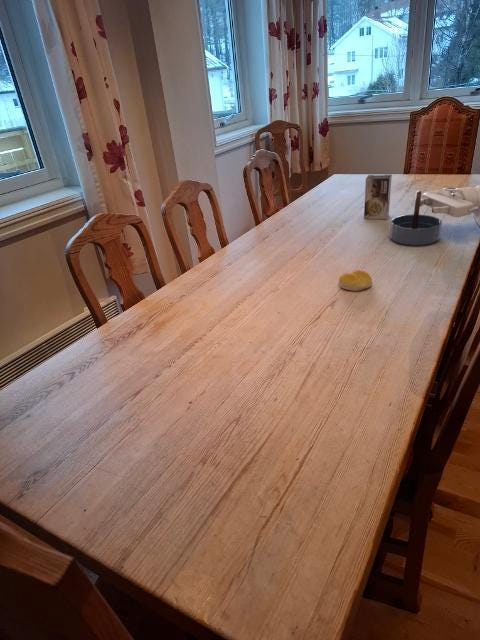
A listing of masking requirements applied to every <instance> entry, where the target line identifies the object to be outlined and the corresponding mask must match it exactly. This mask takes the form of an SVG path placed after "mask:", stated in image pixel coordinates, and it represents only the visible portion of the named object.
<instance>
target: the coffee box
mask: <svg viewBox="0 0 480 640" xmlns="http://www.w3.org/2000/svg"><path fill="white" fill-rule="evenodd" d="M392 175H393V174H389V173H388V174H386V173H385V174H368V175H367V176H366V177H365V185H364V187H365V189H364V206H363V207H364V209H363V219H364V220H388V218H389V215H390V201H391V191H392V177H393V176H392Z"/></svg>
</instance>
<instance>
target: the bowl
mask: <svg viewBox="0 0 480 640" xmlns="http://www.w3.org/2000/svg"><path fill="white" fill-rule="evenodd" d="M413 217H414V213H413V214H403V215H398V216H395V217H393V218H392V219H390V226H389V238H390V239H391V240H392V241H393V242H395V243H397V244H400V245H404V246H409V247H410V246H413V247H421V246H429V245H432V244H434V243H436V242H438V240H439V239H440V237H441V231H442V224H443V223H442V220H441V219H440V218H438V217H436V216H432V215H426V214H419V217H418V226H417V227H420V228H423V229H410V228H408V227H412V226H413Z"/></svg>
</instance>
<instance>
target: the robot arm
mask: <svg viewBox="0 0 480 640" xmlns="http://www.w3.org/2000/svg"><path fill="white" fill-rule="evenodd" d="M423 206H426V207H429V208H431V213H432V214H434V215H435V214H436V215H437V214H443V215H444V214H445V215H447V216H451V217H453V218H461V217H466V216H470V215H473V219H474V221H475V223H476V225H477V227H478V228H479V229H480V185H477V186H466V187H444V188H443V189H437V190H431V191H427V192H424V193H422V194H421V201H420V207H423Z"/></svg>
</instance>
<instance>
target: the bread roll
mask: <svg viewBox="0 0 480 640" xmlns="http://www.w3.org/2000/svg"><path fill="white" fill-rule="evenodd" d="M338 284H339V286H340V287H341V288H342V289H343V290H347V291H353V292H358V291H363V290H367V289H368V288H370V287H371V286H372V285H373V280H372V277H371V275H370V274H369V273H368V272H367V271H366V270H363V269H356V270H353V271H352V272H345V273H343V274H341V275H340V276H339V278H338Z"/></svg>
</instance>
